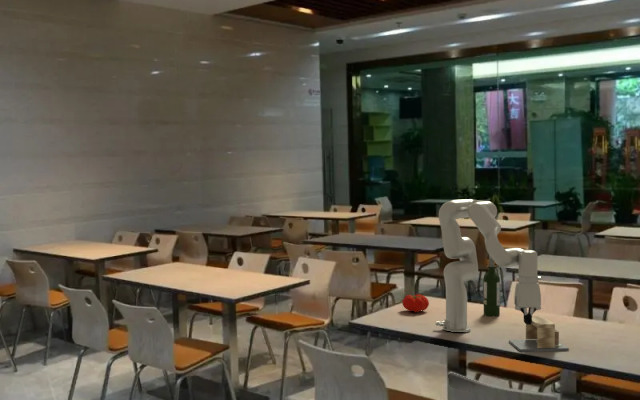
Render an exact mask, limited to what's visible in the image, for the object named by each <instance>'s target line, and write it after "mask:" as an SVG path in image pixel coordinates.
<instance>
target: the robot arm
mask: <svg viewBox="0 0 640 400" xmlns="http://www.w3.org/2000/svg"><path fill="white" fill-rule="evenodd" d="M497 214H498V209H497V206H496V205H495V204H494V202H492V201H489V200H477V199H473V198H469V199H467V198H465V199H452V200H449V201H446V202H444V203H443V204H442V205H441V206H440V208H439V210H438V221H439V225H440V230H441V238H442V245H443V250H444V251H443V252H444V255H445V256H446V258H448V259H453V260H457V259H459V260H458V261H453V262H449V263H447V264H446V265H445V267H444V269H443V278H444V283H445V318H444V319H443V320H441V321H438V320H437V321H435V326H436V327H437V326H439V327H442V330H443V329H444V330H447V331H451V332H466V333H470V331H471V327H470V326H469V325H468V291H467V287H466V284H465V282H467V281H473V280H474V279H476V278H477V277H478V274H479V266H478V265H479V263H478V256H477V250H476V248H477V247H476V245H475V243H474V241H473V240H472V239H471V238H470V237H469V236H462V234H461V227H460V224H459V223H458V221H457V219H464V218H465V219H466V218H470V220H471V221H472V222H473V223H474V225H475V226H476V228H477V229H478V230H479V232H480V233H481V235H482V236H483V238H484V244H485V249H486V251H487V254H488V255H489V256H491V258H492V259H493V260H494V264H496V265H497V266H499V267H501V268H509V267H516V266H518V282H516V284H515V287H514V288H515V290H514V297H513V302H514V303H513V304H514V310H516V311H519V312H521V313H522V314H523V323H524V324H525V325H526V324H527V325H528V324H529V325H531V322H532V316H533V315H534V313H535V312H536V311H539V310H540V311H541V309H542V296H541V295H542V293H541V287H540V284H539V281H541V279H542V278H541V276H539V275H538V252H537V251H535V250H533V249H522V248H519V247H512V248H504V246H503V245H502V244H501V242H500V241H499V237H498V234H499V233H500V232H501V230H502V225H501V224H500V223H499V221H498V220H497V219H496V216H497ZM444 330H443V331H444ZM451 332H450V333H451Z"/></svg>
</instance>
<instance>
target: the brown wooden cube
mask: <svg viewBox="0 0 640 400" xmlns="http://www.w3.org/2000/svg"><path fill="white" fill-rule="evenodd" d="M559 336H560V332H559V331H558V330H557V329H555V345H559V342H560V337H559Z"/></svg>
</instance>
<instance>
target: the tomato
mask: <svg viewBox="0 0 640 400" xmlns="http://www.w3.org/2000/svg"><path fill="white" fill-rule="evenodd" d="M401 303H402V306H403V307H404V309H406V310H407V311H409V312H410V311H414V312H413V313H416V312H417V313H419V311H420V312H422V311H421V310H424V311H426V310H427V309H428V308H429V305H430V301H429V299H428V298H427V296H426V295H425V296H424V295H423V294H419V293H417V294H413V295H411V294H407V295H405V297H404V298H403V299H402V302H401Z"/></svg>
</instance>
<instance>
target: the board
mask: <svg viewBox="0 0 640 400" xmlns="http://www.w3.org/2000/svg"><path fill="white" fill-rule="evenodd" d="M508 343H509V344H510V345H511V346H512V347H514V348H515V349H516V350H518V351H519V352H520V353H522V352H523V353H524V352H561V351H562V352H565V351H566V352H567V351H570V348H569V347H567V346H566V345H565V344H563V343H562V342H560V341H559V345H555V348H537V339H508Z"/></svg>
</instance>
